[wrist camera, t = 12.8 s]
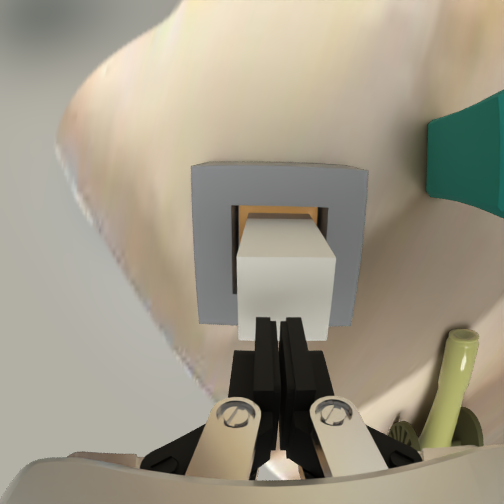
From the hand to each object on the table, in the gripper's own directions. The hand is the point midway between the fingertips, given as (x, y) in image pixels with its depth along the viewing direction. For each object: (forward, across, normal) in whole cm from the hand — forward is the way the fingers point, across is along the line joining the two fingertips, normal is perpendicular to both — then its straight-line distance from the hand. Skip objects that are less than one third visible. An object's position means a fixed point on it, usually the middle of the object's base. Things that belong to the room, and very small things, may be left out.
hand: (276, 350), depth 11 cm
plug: (+14, -1, 0) cm, 14 cm away
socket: (+18, -1, 0) cm, 18 cm away
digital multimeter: (+18, -15, -8) cm, 24 cm away
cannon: (+18, -24, +23) cm, 38 cm away
